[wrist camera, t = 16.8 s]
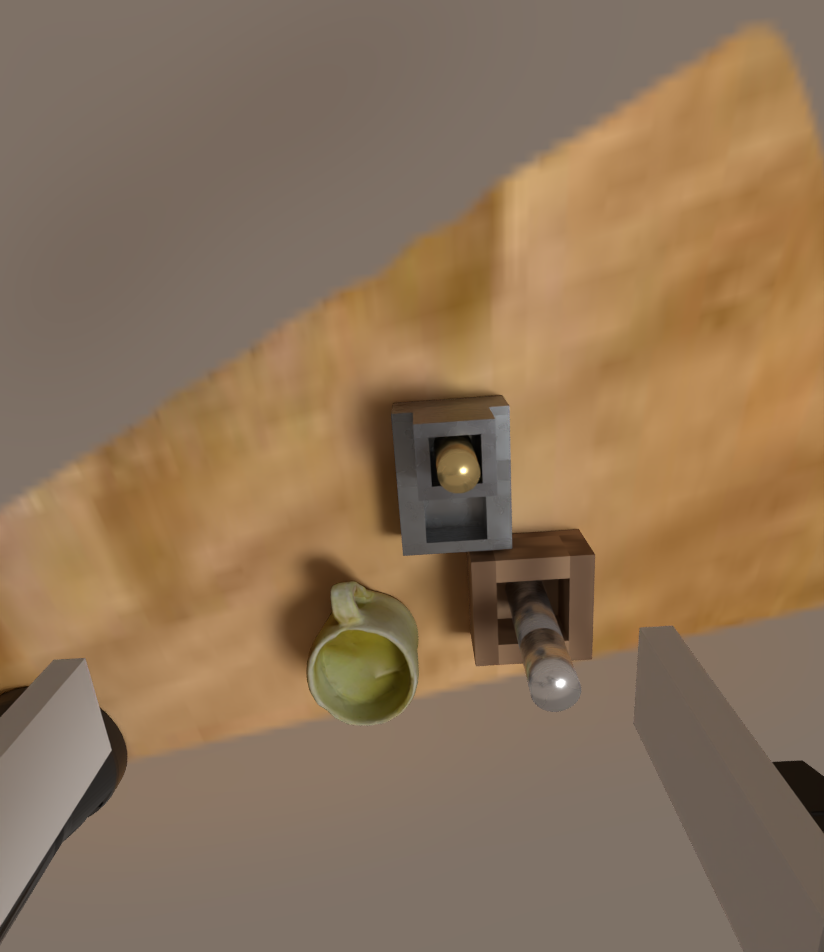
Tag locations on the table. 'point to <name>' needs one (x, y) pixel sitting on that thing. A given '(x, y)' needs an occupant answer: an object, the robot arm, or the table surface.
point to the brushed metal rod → (542, 647)
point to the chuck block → (419, 491)
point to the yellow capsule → (456, 463)
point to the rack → (532, 558)
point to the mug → (364, 657)
